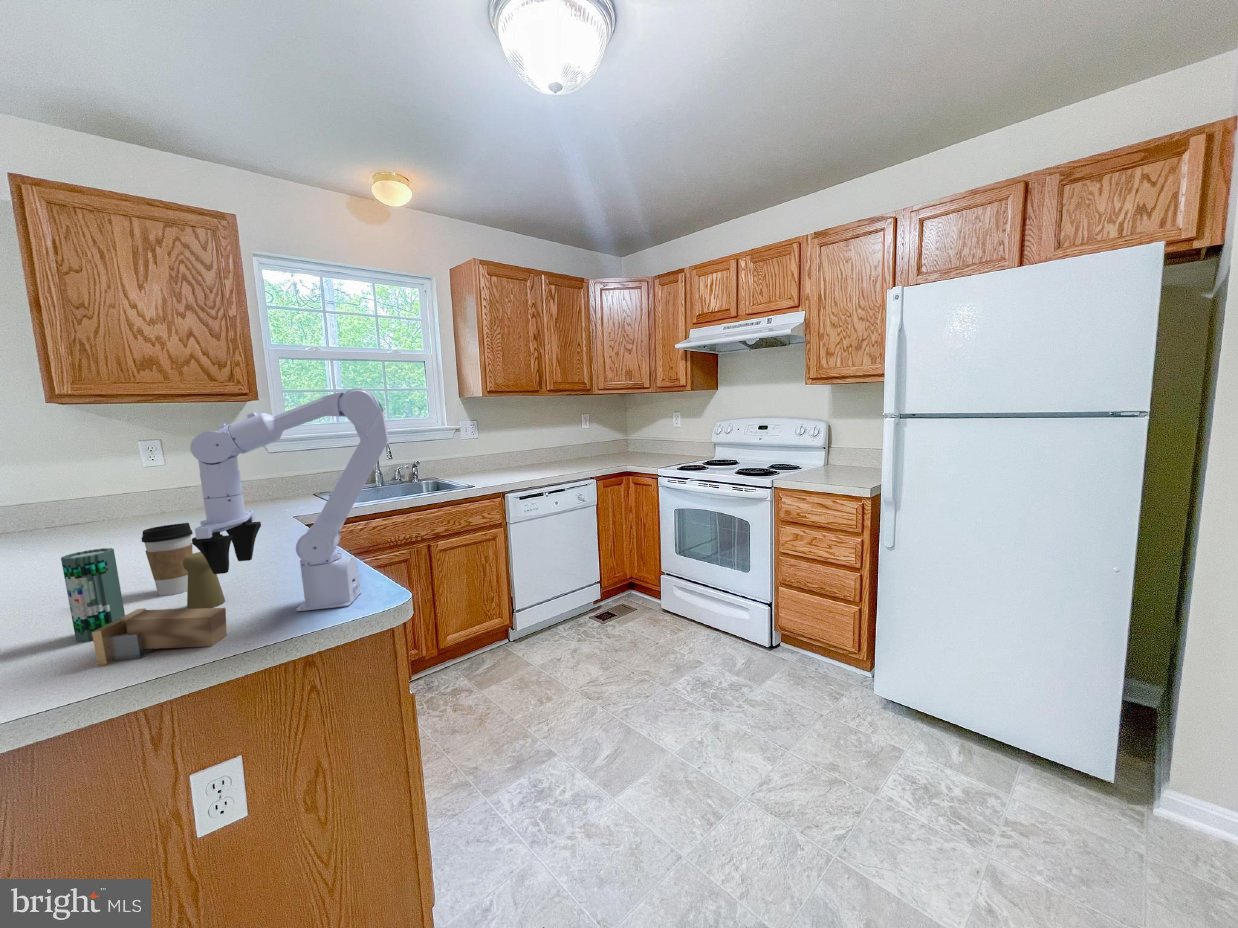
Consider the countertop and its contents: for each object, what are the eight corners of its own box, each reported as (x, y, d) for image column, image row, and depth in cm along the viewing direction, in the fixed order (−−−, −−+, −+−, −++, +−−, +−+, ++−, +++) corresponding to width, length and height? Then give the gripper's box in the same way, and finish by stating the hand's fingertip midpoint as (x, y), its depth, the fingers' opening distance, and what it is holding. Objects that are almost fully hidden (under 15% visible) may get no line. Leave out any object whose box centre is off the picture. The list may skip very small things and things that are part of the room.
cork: (203, 611, 96) (194, 558, 95) (179, 610, 98) (170, 557, 96) (232, 599, 102) (225, 548, 101) (209, 598, 103) (202, 548, 102)
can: (66, 641, 85) (51, 558, 84) (104, 626, 91) (91, 548, 90) (99, 641, 85) (84, 557, 83) (135, 625, 91) (122, 547, 89)
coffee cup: (177, 597, 105) (167, 529, 103) (139, 598, 105) (128, 531, 104) (210, 583, 114) (201, 520, 112) (175, 584, 114) (165, 521, 112)
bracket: (176, 635, 86) (171, 605, 85) (136, 660, 77) (130, 627, 76) (142, 639, 85) (137, 608, 84) (97, 665, 76) (91, 632, 76)
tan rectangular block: (226, 635, 85) (225, 607, 85) (212, 646, 81) (210, 617, 81) (147, 638, 83) (145, 609, 82) (128, 649, 79) (126, 619, 78)
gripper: (223, 490, 97) (232, 557, 98) (170, 504, 82) (182, 581, 84) (262, 488, 98) (271, 553, 99) (217, 501, 84) (228, 577, 85)
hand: (233, 566), depth 92 cm, fingers open, 7 cm apart
